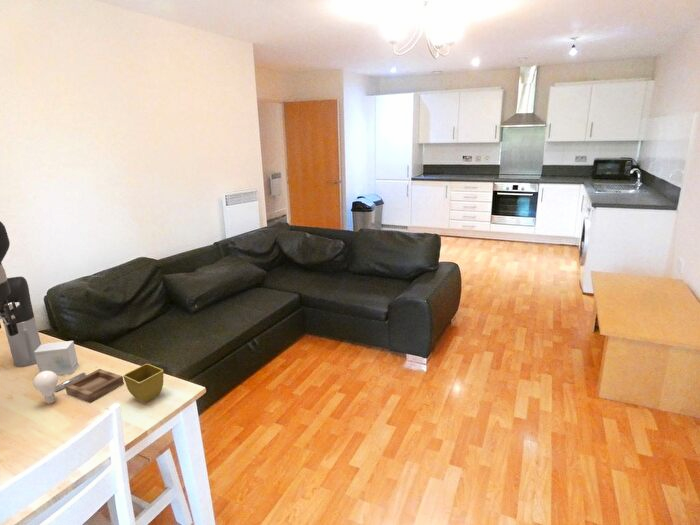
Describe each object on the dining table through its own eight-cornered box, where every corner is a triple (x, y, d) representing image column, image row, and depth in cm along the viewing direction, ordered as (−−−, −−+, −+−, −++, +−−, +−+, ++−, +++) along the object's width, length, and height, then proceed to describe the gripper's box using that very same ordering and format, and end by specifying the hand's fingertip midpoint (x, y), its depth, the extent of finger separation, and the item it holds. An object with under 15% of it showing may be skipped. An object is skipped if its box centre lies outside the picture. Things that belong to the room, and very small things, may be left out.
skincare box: (39, 378, 148) (33, 351, 145) (47, 369, 154) (41, 343, 151) (72, 374, 150) (66, 347, 147) (79, 365, 156) (73, 339, 154)
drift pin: (56, 392, 139) (54, 388, 139) (52, 391, 140) (51, 386, 139) (87, 376, 149) (86, 372, 148) (84, 375, 149) (83, 371, 149)
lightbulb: (50, 409, 130) (42, 378, 127) (33, 407, 132) (25, 376, 129) (67, 397, 136) (60, 367, 133) (51, 395, 138) (44, 366, 134)
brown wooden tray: (66, 394, 138) (64, 386, 137) (101, 376, 149) (99, 368, 148) (90, 403, 133) (88, 394, 132) (123, 383, 144) (122, 376, 143)
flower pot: (168, 394, 138) (164, 369, 135) (143, 408, 130) (139, 382, 128) (151, 386, 142) (147, 363, 139) (126, 400, 135) (122, 375, 132)
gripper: (-40, 282, 119) (-23, 333, 124) (-11, 289, 113) (5, 342, 118) (-10, 273, 125) (5, 322, 130) (19, 280, 120) (33, 331, 125)
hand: (5, 332), depth 124 cm, fingers open, 8 cm apart
